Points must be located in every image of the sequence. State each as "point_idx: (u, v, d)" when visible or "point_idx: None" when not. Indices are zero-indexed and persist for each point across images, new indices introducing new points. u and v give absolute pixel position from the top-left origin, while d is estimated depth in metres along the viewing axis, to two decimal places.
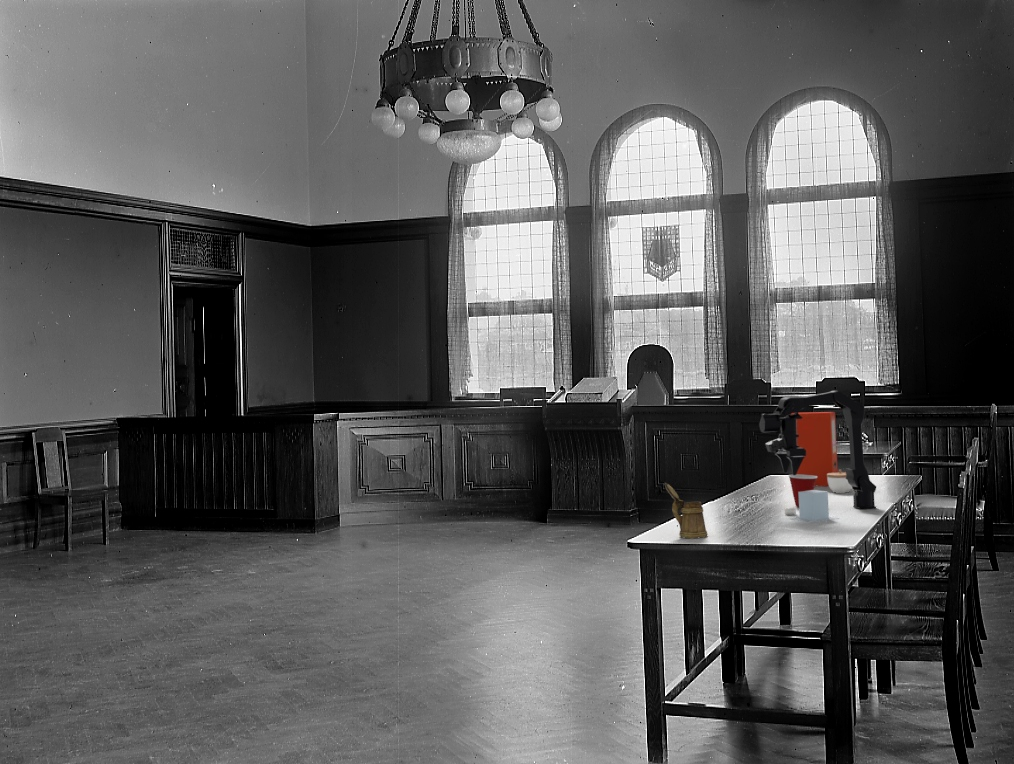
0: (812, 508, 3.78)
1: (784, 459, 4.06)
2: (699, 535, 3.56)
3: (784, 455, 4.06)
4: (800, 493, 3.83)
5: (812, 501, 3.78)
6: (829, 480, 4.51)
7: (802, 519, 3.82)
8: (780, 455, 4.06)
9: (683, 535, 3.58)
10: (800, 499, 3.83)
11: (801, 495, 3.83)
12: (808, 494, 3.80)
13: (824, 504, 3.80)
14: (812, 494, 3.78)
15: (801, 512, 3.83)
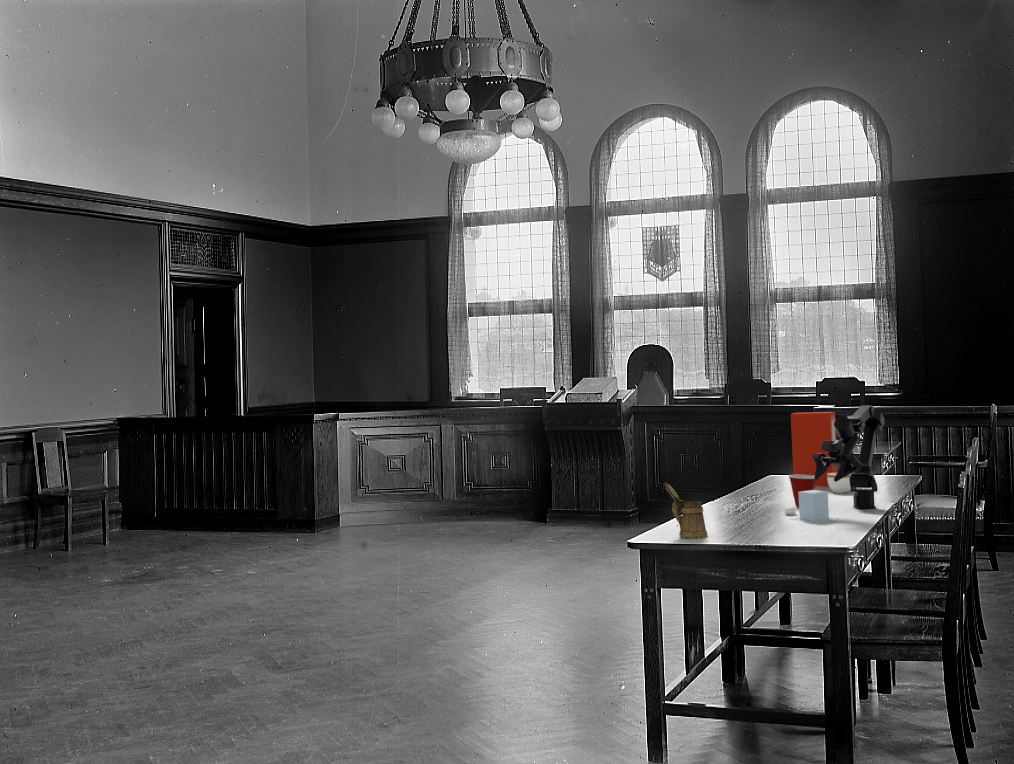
0: (812, 508, 3.78)
1: (820, 468, 3.92)
2: (699, 535, 3.56)
3: (822, 465, 3.92)
4: (800, 493, 3.83)
5: (812, 501, 3.78)
6: (829, 480, 4.51)
7: (802, 519, 3.82)
8: (820, 462, 3.92)
9: (683, 535, 3.58)
10: (800, 499, 3.83)
11: (801, 495, 3.83)
12: (808, 494, 3.80)
13: (824, 504, 3.80)
14: (812, 494, 3.78)
15: (801, 512, 3.83)
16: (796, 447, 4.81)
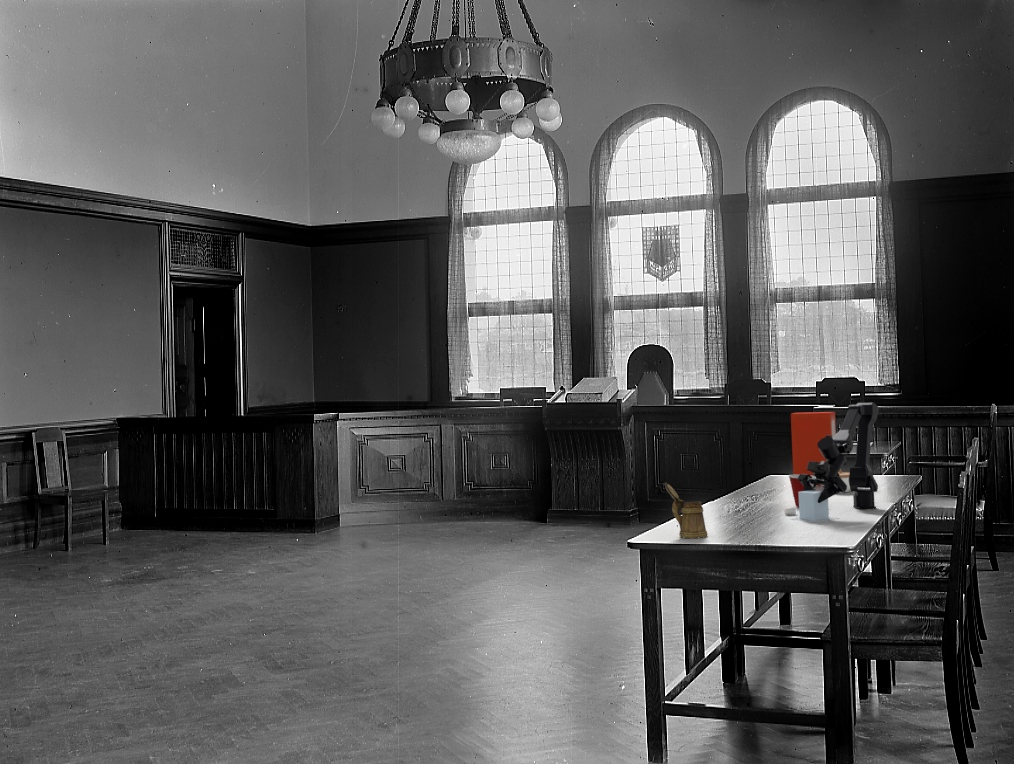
0: (812, 508, 3.78)
1: (808, 490, 3.87)
2: (699, 535, 3.56)
3: (810, 486, 3.88)
4: (800, 493, 3.83)
5: (812, 501, 3.78)
6: None
7: (802, 519, 3.82)
8: (808, 483, 3.87)
9: (683, 535, 3.58)
10: (800, 499, 3.83)
11: (801, 495, 3.83)
12: (808, 494, 3.80)
13: (824, 504, 3.80)
14: (812, 494, 3.78)
15: (801, 512, 3.83)
16: (796, 447, 4.81)
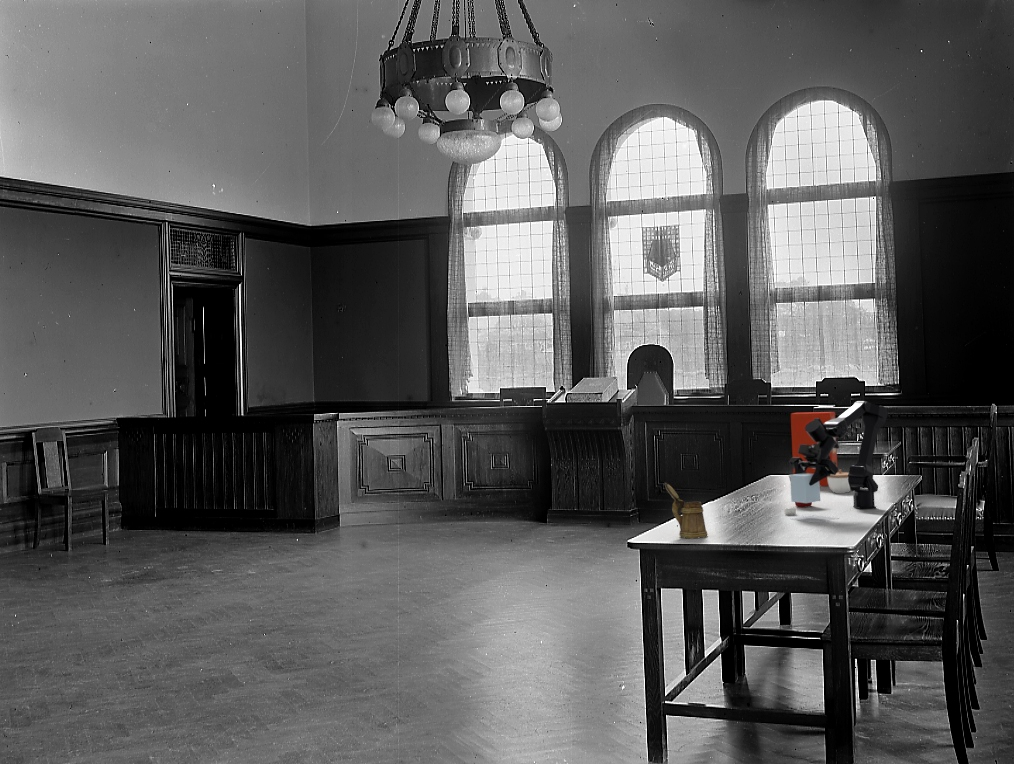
0: (804, 491, 3.82)
1: (799, 473, 3.91)
2: (699, 535, 3.56)
3: (801, 469, 3.92)
4: (792, 476, 3.87)
5: (804, 484, 3.82)
6: (829, 480, 4.51)
7: (802, 519, 3.82)
8: (799, 466, 3.91)
9: (683, 535, 3.58)
10: (792, 482, 3.87)
11: (793, 478, 3.86)
12: (800, 477, 3.84)
13: (815, 487, 3.84)
14: (804, 477, 3.82)
15: (793, 494, 3.87)
16: (796, 447, 4.81)
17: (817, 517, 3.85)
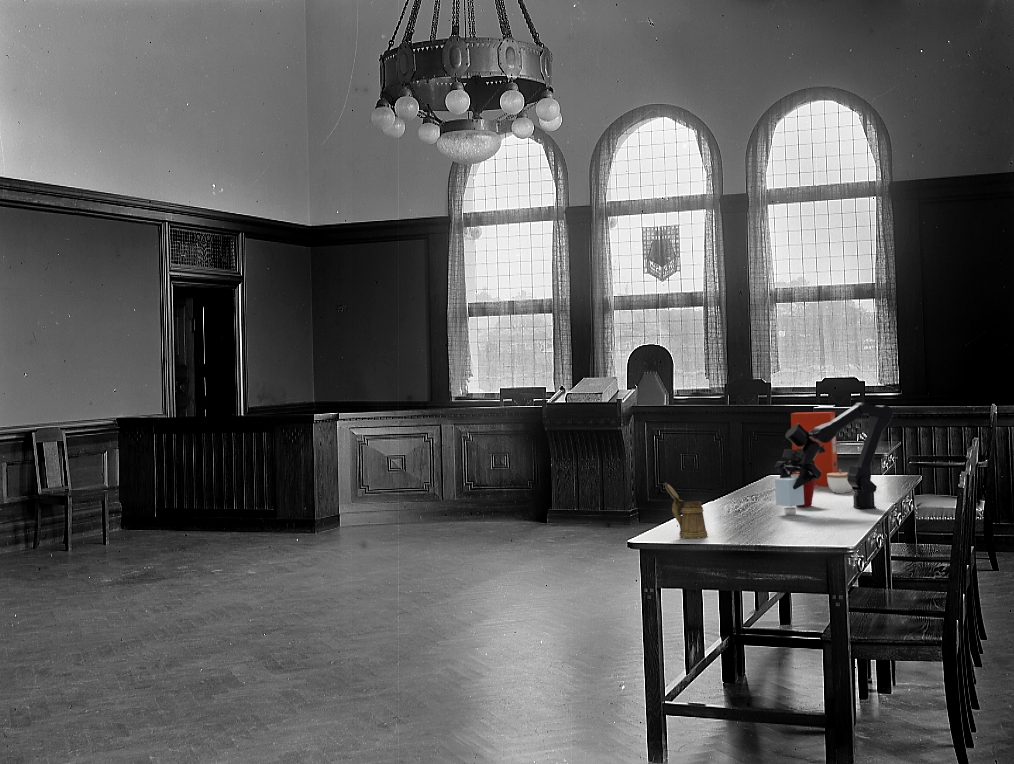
0: (788, 494, 3.91)
1: (784, 477, 3.99)
2: (699, 535, 3.56)
3: (786, 473, 4.00)
4: (776, 480, 3.95)
5: (788, 487, 3.91)
6: (829, 480, 4.51)
7: (802, 519, 3.82)
8: (784, 471, 4.00)
9: (683, 535, 3.58)
10: (776, 485, 3.96)
11: (777, 482, 3.95)
12: (784, 481, 3.92)
13: (799, 490, 3.93)
14: (787, 481, 3.91)
15: (777, 498, 3.95)
16: (796, 447, 4.81)
17: (817, 517, 3.85)
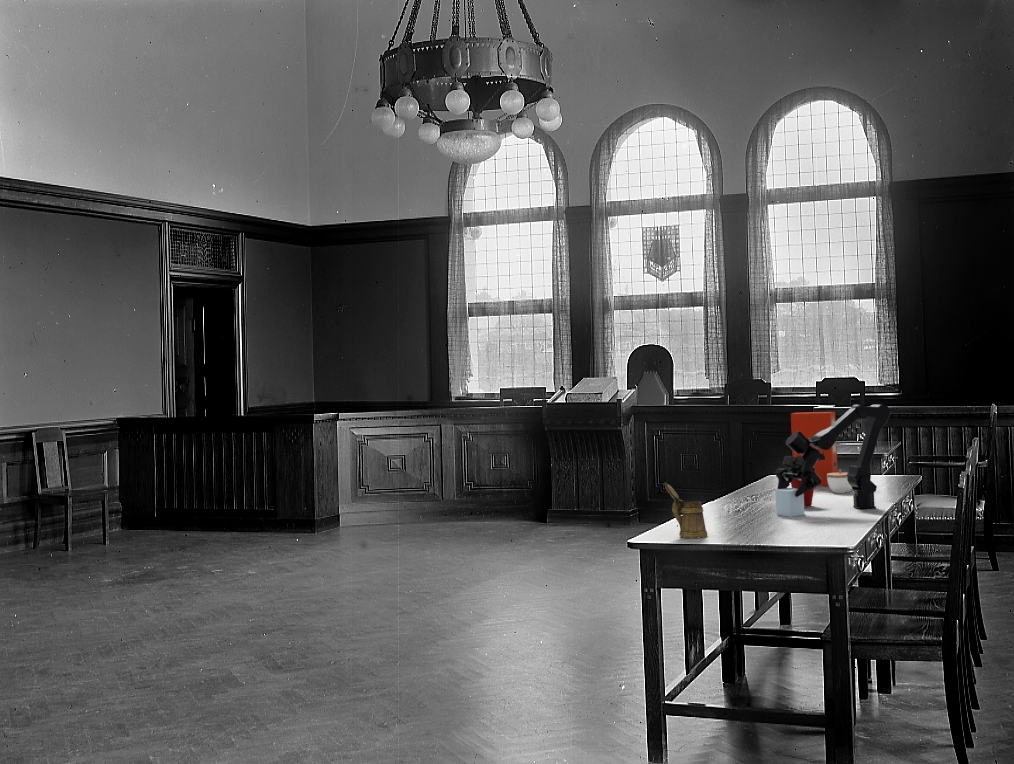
0: (788, 505, 3.91)
1: (782, 484, 4.00)
2: (699, 535, 3.56)
3: (784, 480, 4.01)
4: (777, 491, 3.96)
5: (788, 498, 3.91)
6: (829, 480, 4.51)
7: (802, 519, 3.82)
8: (782, 478, 4.00)
9: (683, 535, 3.58)
10: (777, 496, 3.96)
11: (778, 493, 3.95)
12: (784, 492, 3.92)
13: (800, 501, 3.93)
14: (788, 492, 3.91)
15: (778, 509, 3.96)
16: None
17: (817, 517, 3.85)
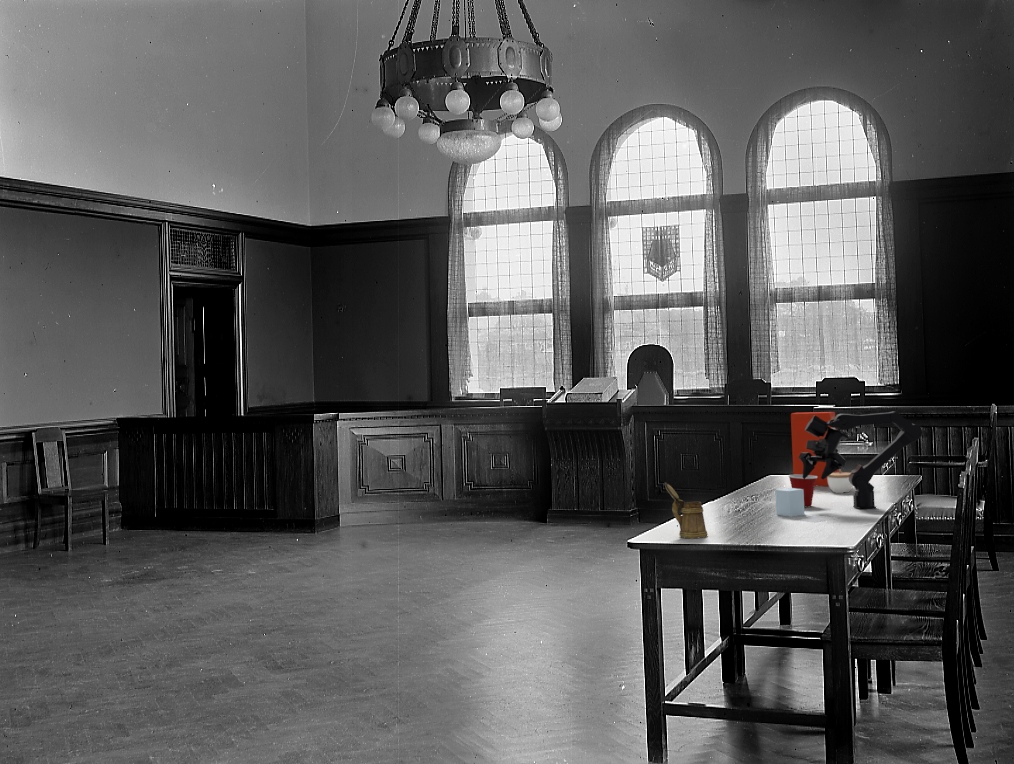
0: (788, 505, 3.91)
1: (807, 467, 4.06)
2: (699, 535, 3.56)
3: (809, 463, 4.06)
4: (777, 491, 3.96)
5: (788, 498, 3.91)
6: (829, 480, 4.51)
7: (802, 519, 3.82)
8: (807, 461, 4.06)
9: (683, 535, 3.58)
10: (777, 496, 3.96)
11: (778, 493, 3.95)
12: (784, 492, 3.92)
13: (800, 501, 3.93)
14: (788, 492, 3.91)
15: (778, 509, 3.96)
16: (796, 447, 4.81)
17: (817, 517, 3.85)
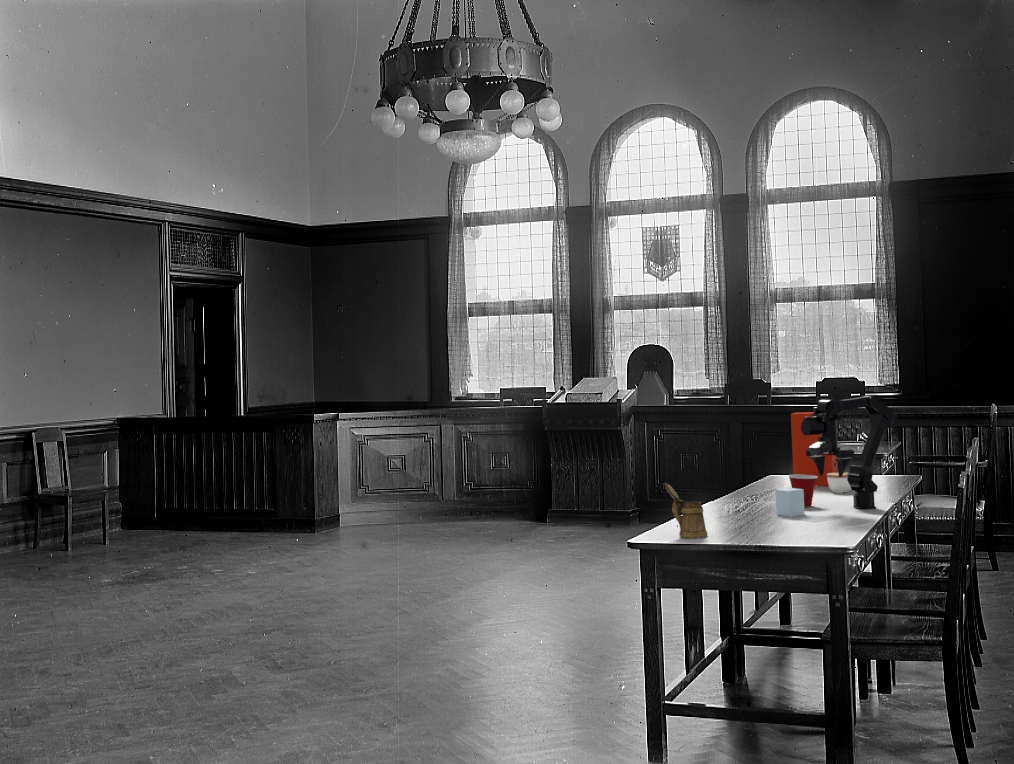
0: (788, 505, 3.91)
1: (820, 462, 4.04)
2: (699, 535, 3.56)
3: (819, 458, 4.04)
4: (777, 491, 3.96)
5: (788, 498, 3.91)
6: (829, 480, 4.51)
7: (802, 519, 3.82)
8: (816, 458, 4.03)
9: (683, 535, 3.58)
10: (777, 496, 3.96)
11: (778, 493, 3.95)
12: (784, 492, 3.92)
13: (800, 501, 3.93)
14: (788, 492, 3.91)
15: (778, 509, 3.96)
16: (796, 447, 4.81)
17: (817, 517, 3.85)
